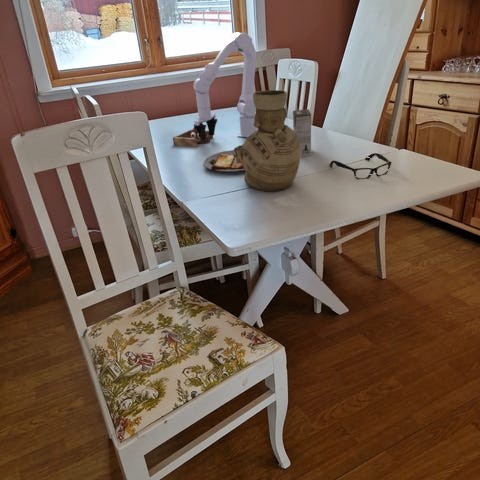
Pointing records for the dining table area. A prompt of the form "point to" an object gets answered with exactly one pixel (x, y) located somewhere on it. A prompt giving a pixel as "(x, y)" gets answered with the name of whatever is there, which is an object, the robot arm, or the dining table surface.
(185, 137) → the brown u-shaped block
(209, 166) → the food plate
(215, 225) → the dining table surface
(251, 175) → the ceramic vessel
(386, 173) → the glasses
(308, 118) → the coffee box
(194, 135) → the poop emoji
